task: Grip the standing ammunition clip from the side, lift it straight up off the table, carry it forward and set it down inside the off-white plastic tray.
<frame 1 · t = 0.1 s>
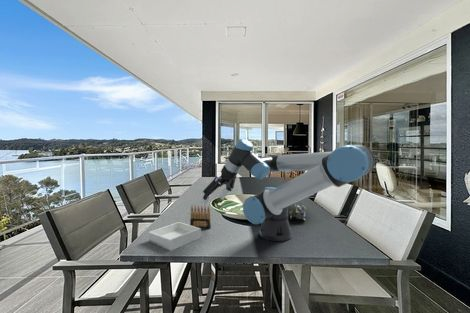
hand: (212, 200, 128), 15 cm above the table, tool tilted 35°, fingers open, 13 cm apart
tray: (175, 239, 117), on the table
ammunition clip: (200, 228, 133), on the table
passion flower: (296, 220, 146), on the table
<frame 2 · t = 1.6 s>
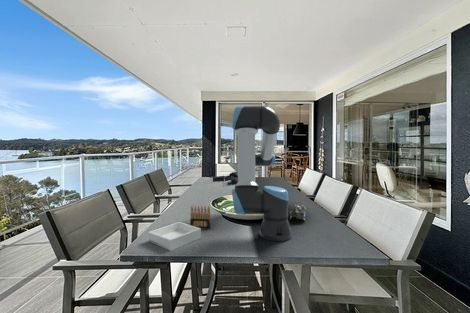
hand: (213, 183, 139), 22 cm above the table, tool horizontal, fingers open, 13 cm apart
nothing on the table moved.
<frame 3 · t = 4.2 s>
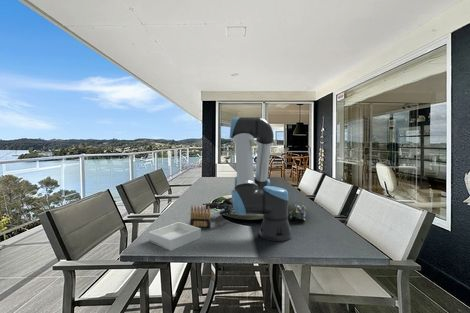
hand: (205, 212, 136), 7 cm above the table, tool horizontal, fingers open, 13 cm apart
nothing on the table moved.
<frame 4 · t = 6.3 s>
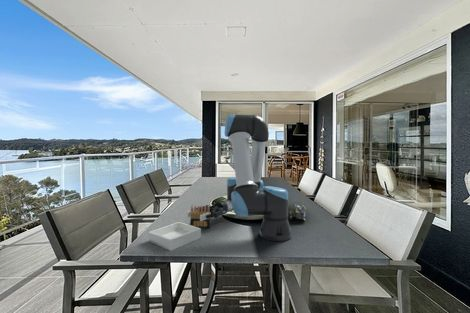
hand: (193, 216, 129), 7 cm above the table, tool horizontal, fingers closed on ammunition clip, 9 cm apart
ammunition clip: (200, 228, 133), on the table, touching gripper
everything else where it was.
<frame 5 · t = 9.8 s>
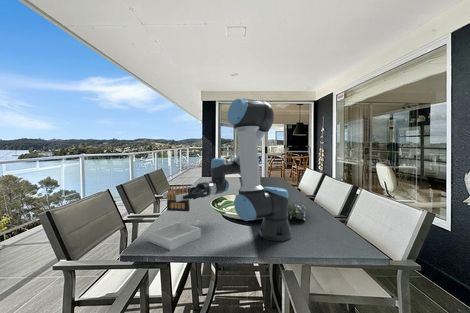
hand: (169, 197, 116), 20 cm above the table, tool horizontal, fingers closed on ammunition clip, 9 cm apart
ammunition clip: (178, 210, 120), point 12 cm above the table, touching gripper
everything else where it was.
when the fingers open (10 cm above the table, at t = 13.0 s): ammunition clip drops 2 cm, resting on tray.
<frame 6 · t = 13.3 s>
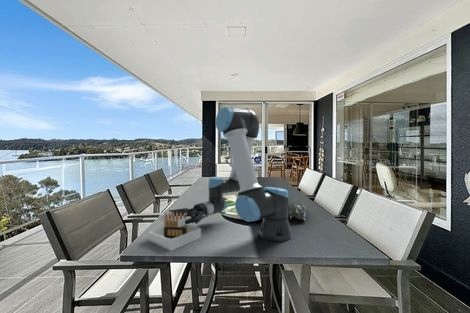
hand: (168, 220, 114), 10 cm above the table, tool horizontal, fingers open, 13 cm apart
ammunition clip: (175, 237, 117), point 1 cm above the table, touching tray
everything else where it was.
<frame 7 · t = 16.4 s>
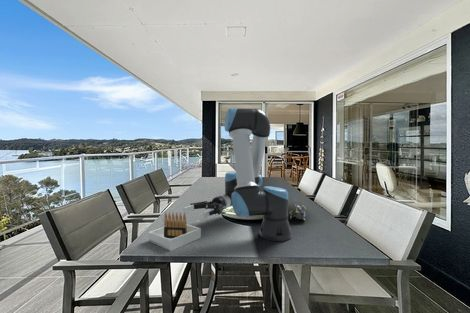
hand: (193, 212, 125), 10 cm above the table, tool horizontal, fingers open, 13 cm apart
nothing on the table moved.
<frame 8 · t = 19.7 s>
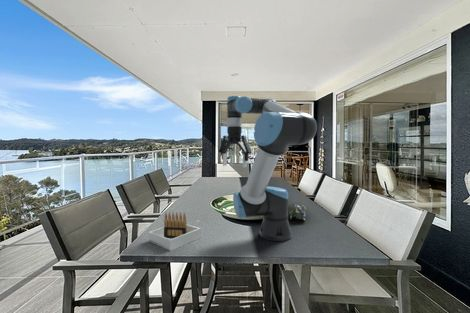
hand: (234, 166, 135), 32 cm above the table, tool pointing down, fingers open, 13 cm apart
nothing on the table moved.
at the end: ammunition clip inside the target area (0.1 cm from its centre), point 0.8 cm above the table; the gripper is holding nothing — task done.
